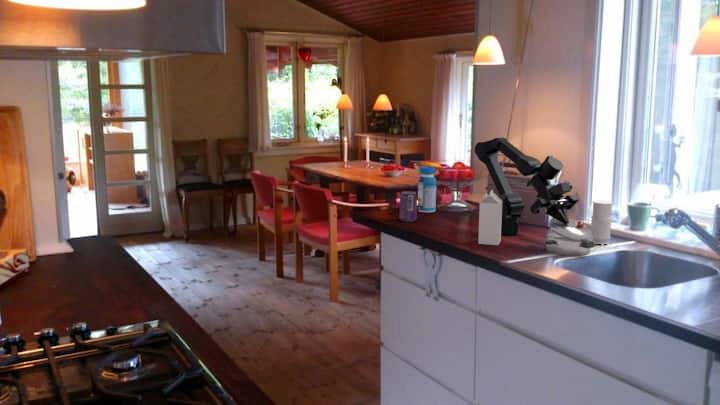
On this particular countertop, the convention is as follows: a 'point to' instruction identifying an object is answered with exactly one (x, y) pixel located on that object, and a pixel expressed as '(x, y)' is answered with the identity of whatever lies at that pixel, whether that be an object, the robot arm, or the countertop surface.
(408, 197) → the beverage can
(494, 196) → the milk carton
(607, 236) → the white cylinder
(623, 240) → the countertop surface
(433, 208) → the beverage bottle
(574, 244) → the cooker pot
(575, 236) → the cooker lid
